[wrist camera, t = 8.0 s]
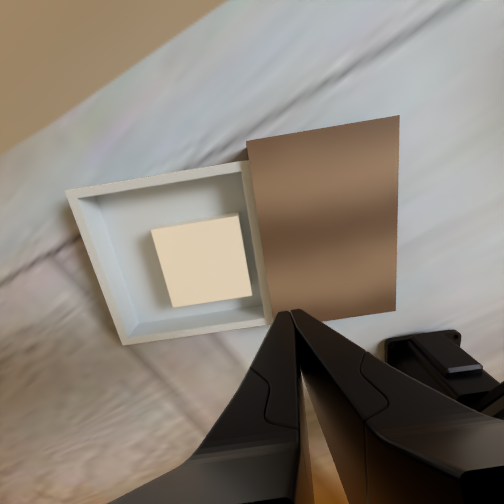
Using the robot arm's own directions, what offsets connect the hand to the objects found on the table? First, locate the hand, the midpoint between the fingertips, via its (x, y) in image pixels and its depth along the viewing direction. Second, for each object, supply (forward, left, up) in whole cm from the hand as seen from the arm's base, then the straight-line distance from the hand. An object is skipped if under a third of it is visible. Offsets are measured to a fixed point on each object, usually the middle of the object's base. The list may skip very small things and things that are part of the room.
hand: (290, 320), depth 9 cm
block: (0, +5, -11) cm, 12 cm away
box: (0, +7, -11) cm, 13 cm away
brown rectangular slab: (+1, -4, -11) cm, 12 cm away
